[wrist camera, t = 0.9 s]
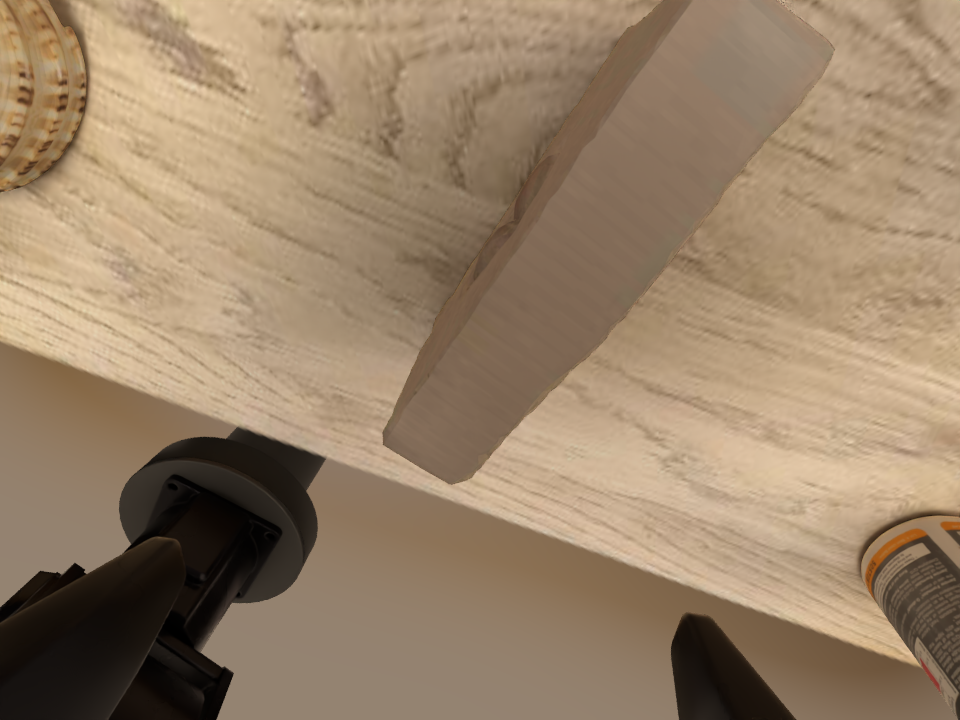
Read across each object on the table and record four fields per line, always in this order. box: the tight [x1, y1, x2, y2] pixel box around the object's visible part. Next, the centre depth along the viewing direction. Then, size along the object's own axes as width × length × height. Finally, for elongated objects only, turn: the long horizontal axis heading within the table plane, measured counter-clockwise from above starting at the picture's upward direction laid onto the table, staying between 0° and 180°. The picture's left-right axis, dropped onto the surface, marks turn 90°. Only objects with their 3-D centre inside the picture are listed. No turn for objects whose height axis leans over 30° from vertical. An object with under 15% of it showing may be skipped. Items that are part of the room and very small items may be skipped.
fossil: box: [383, 0, 835, 485], centre depth 15 cm, size 12×4×10 cm, turn 148°
